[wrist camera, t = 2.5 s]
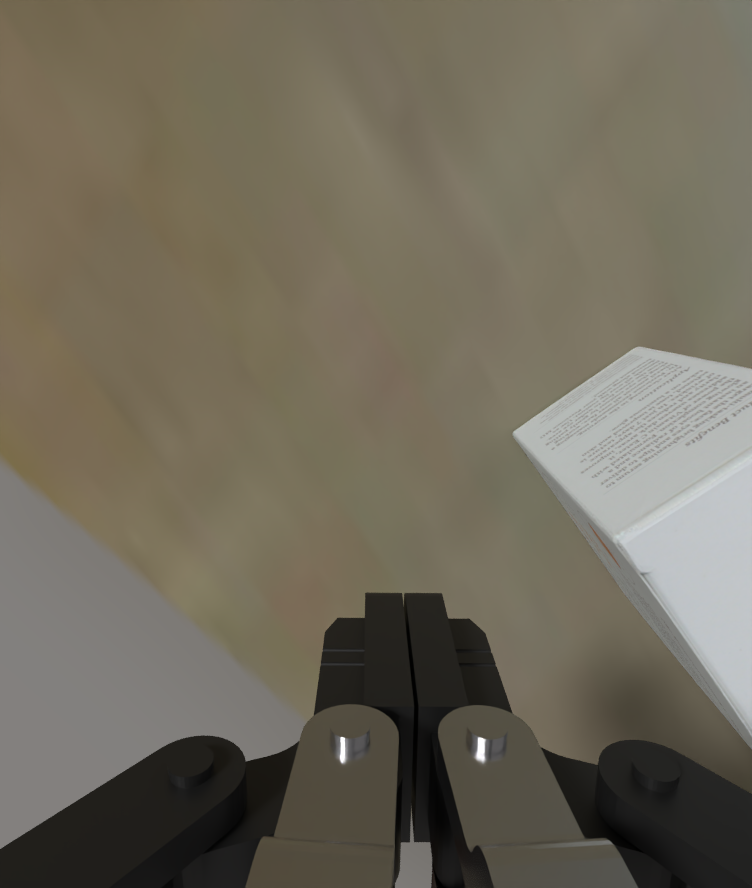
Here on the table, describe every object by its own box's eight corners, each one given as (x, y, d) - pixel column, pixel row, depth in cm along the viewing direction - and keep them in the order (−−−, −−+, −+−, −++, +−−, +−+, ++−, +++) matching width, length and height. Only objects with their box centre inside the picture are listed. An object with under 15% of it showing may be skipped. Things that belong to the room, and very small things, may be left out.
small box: (744, 511, 24) (1025, 677, 14) (617, 590, 25) (793, 805, 14) (637, 339, 22) (864, 380, 12) (505, 429, 23) (613, 541, 13)
